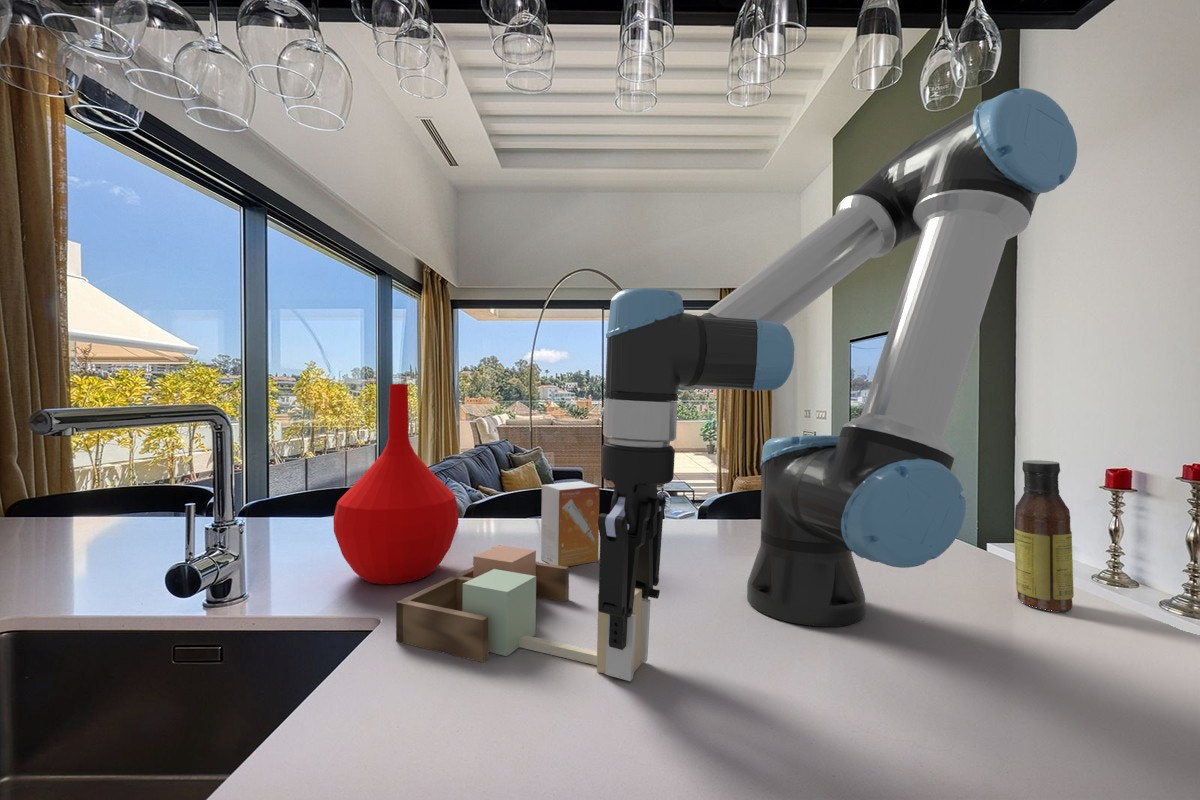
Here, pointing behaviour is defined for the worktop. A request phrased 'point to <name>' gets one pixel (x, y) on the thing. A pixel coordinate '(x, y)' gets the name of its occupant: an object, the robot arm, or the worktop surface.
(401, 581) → the vase
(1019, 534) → the sauce bottle
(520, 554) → the terracotta block
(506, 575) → the tethered block
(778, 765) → the worktop surface
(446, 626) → the lane rack
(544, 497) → the small box
